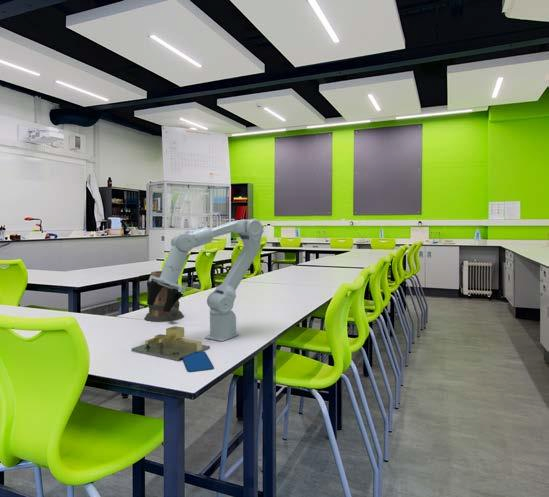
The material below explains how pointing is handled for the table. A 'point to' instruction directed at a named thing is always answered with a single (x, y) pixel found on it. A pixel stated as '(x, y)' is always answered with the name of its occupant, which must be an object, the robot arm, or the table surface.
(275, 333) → the table surface
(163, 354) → the base
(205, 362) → the smartphone
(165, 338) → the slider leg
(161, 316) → the tankard
